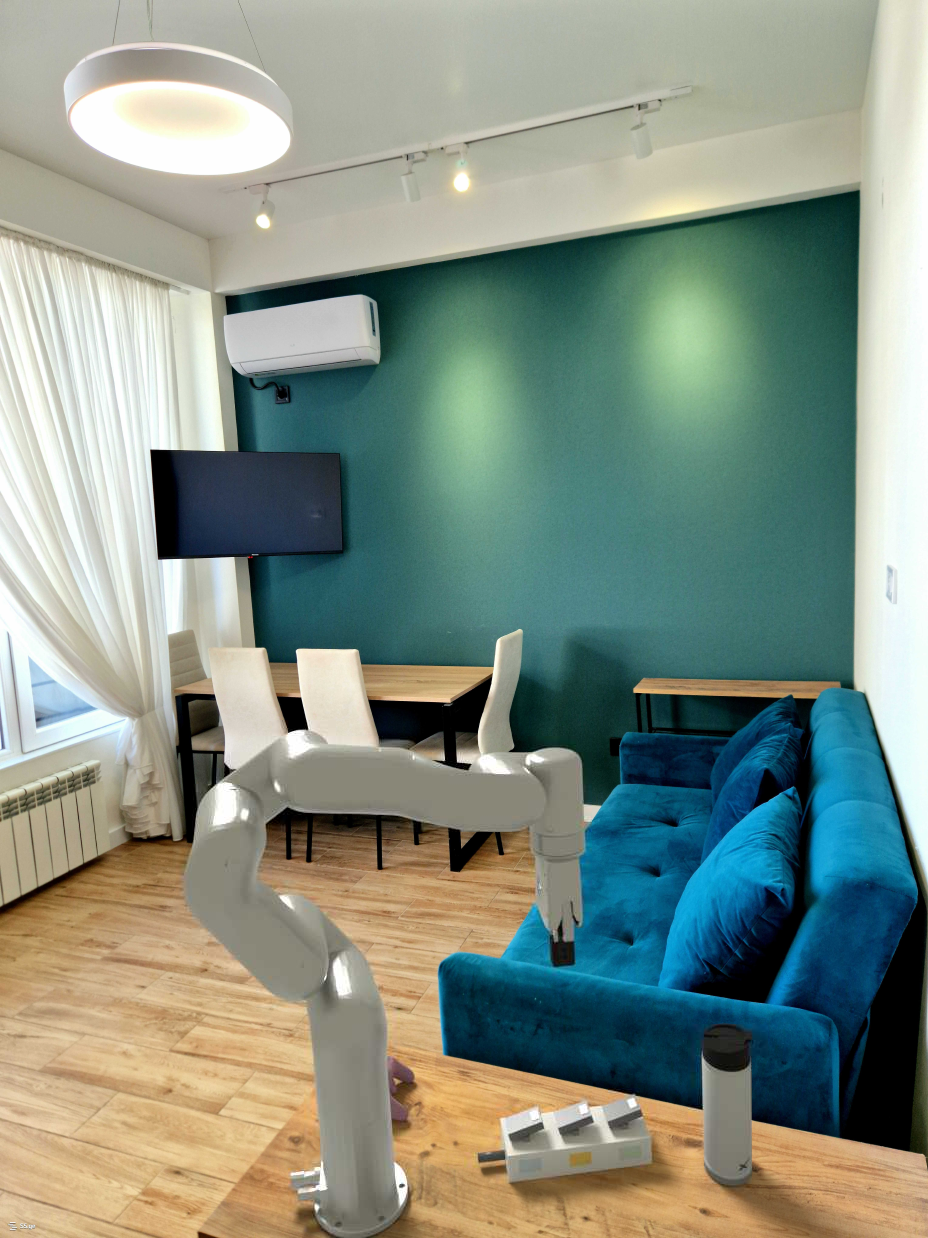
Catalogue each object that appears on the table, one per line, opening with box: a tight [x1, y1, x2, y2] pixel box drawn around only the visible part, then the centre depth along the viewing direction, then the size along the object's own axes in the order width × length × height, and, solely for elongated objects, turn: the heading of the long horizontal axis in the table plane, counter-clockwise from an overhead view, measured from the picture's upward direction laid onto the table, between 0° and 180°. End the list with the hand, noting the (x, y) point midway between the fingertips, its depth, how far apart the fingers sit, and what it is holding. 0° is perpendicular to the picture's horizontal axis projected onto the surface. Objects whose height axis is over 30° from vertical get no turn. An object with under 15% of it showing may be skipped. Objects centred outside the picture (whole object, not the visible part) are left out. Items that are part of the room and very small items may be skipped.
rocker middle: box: [552, 1099, 594, 1135], centre depth 114 cm, size 5×3×1 cm, turn 95°
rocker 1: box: [504, 1105, 545, 1141], centre depth 114 cm, size 5×3×1 cm, turn 95°
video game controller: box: [387, 1055, 416, 1122], centre depth 127 cm, size 10×5×7 cm, turn 177°
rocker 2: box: [601, 1093, 644, 1129], centre depth 115 cm, size 5×3×1 cm, turn 95°
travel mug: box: [701, 1023, 754, 1187], centre depth 109 cm, size 6×7×20 cm
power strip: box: [476, 1104, 653, 1184], centre depth 114 cm, size 24×7×5 cm, turn 96°
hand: (562, 963), depth 114 cm, fingers closed
